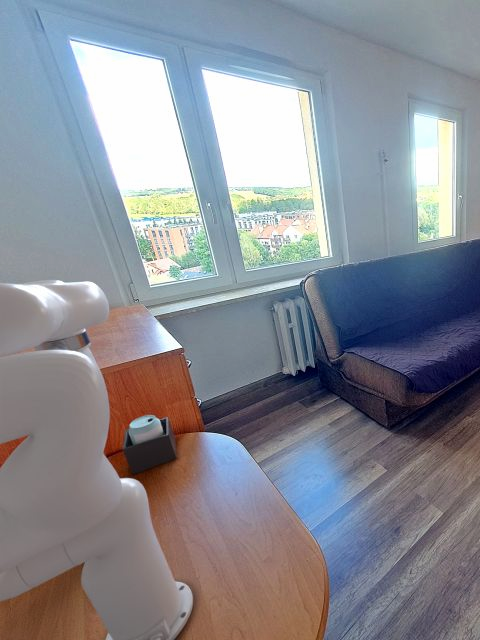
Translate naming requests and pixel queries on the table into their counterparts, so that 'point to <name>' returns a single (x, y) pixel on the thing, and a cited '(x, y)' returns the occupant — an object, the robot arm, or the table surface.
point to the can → (145, 429)
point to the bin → (150, 449)
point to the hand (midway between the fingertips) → (93, 414)
